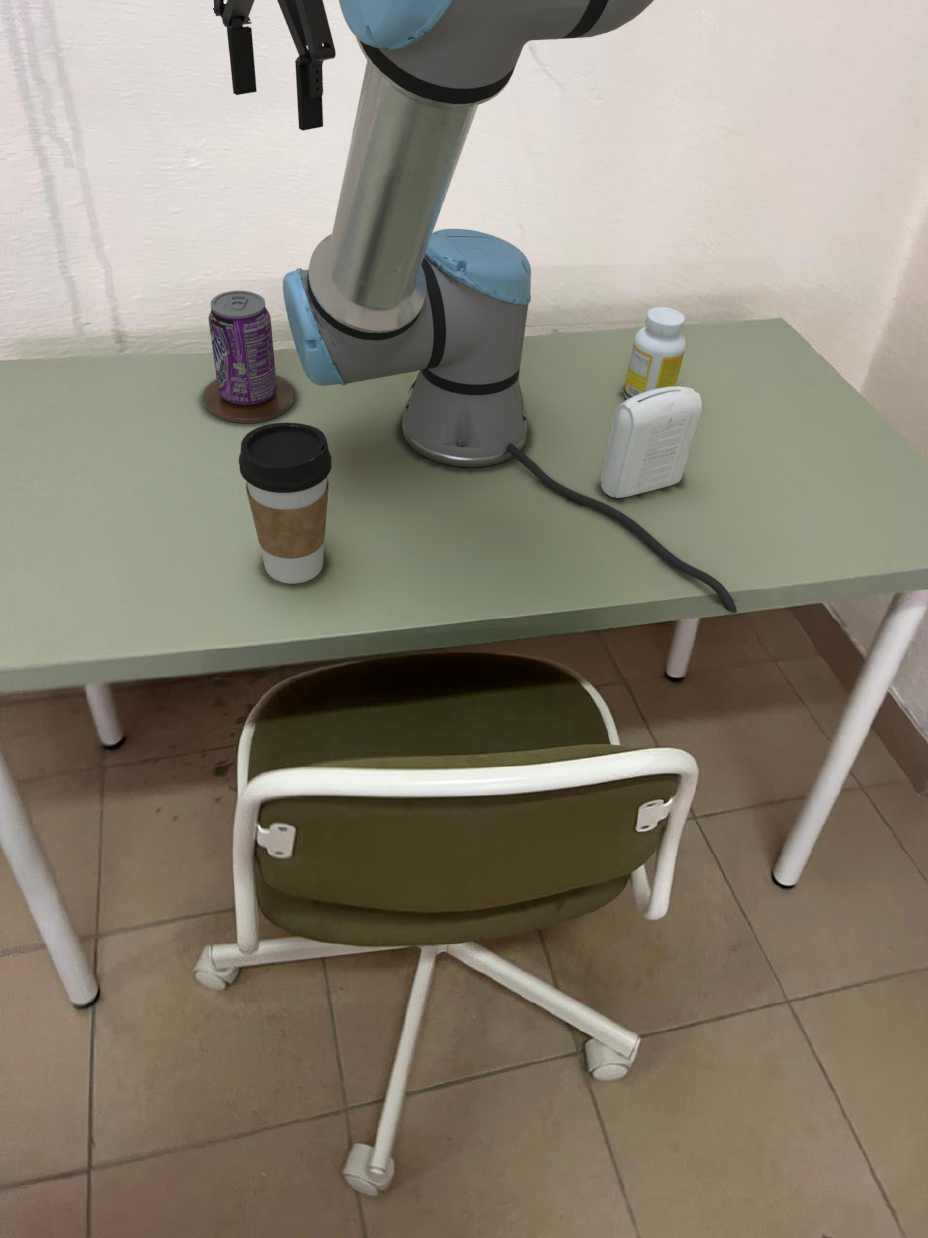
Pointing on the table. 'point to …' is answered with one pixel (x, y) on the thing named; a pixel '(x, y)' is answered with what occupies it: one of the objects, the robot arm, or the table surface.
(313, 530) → the coffee cup
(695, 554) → the table surface
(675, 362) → the pill bottle
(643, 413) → the photo printer
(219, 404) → the coaster
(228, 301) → the beverage can
